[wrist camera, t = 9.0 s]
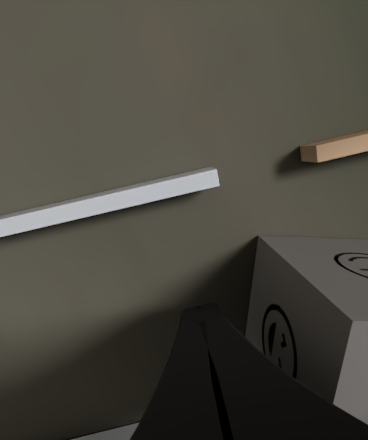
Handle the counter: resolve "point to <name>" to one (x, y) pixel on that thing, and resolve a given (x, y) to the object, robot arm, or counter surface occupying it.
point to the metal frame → (102, 204)
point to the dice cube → (314, 314)
